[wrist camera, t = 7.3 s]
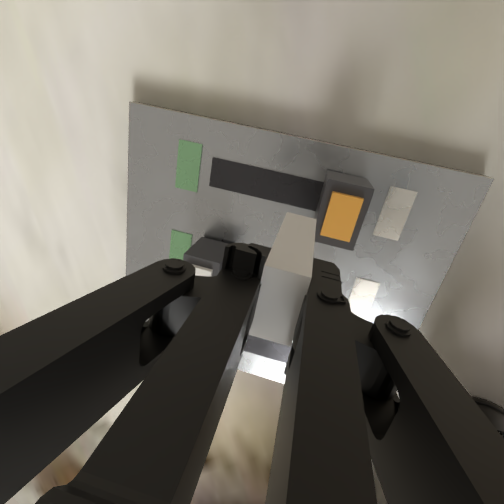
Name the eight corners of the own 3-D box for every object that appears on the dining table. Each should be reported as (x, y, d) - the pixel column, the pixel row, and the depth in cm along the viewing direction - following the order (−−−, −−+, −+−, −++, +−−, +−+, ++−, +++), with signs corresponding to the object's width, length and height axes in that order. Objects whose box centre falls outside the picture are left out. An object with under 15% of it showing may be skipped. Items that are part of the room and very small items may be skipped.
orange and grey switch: (349, 232, 26) (353, 253, 22) (312, 223, 26) (310, 242, 22) (367, 178, 24) (375, 190, 20) (327, 169, 24) (328, 179, 20)
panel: (374, 400, 34) (377, 412, 32) (132, 327, 37) (124, 335, 35) (484, 175, 24) (494, 179, 22) (139, 102, 27) (128, 101, 25)
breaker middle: (226, 287, 30) (211, 312, 26) (196, 278, 30) (176, 302, 26) (233, 245, 28) (218, 265, 24) (201, 236, 28) (181, 255, 24)
